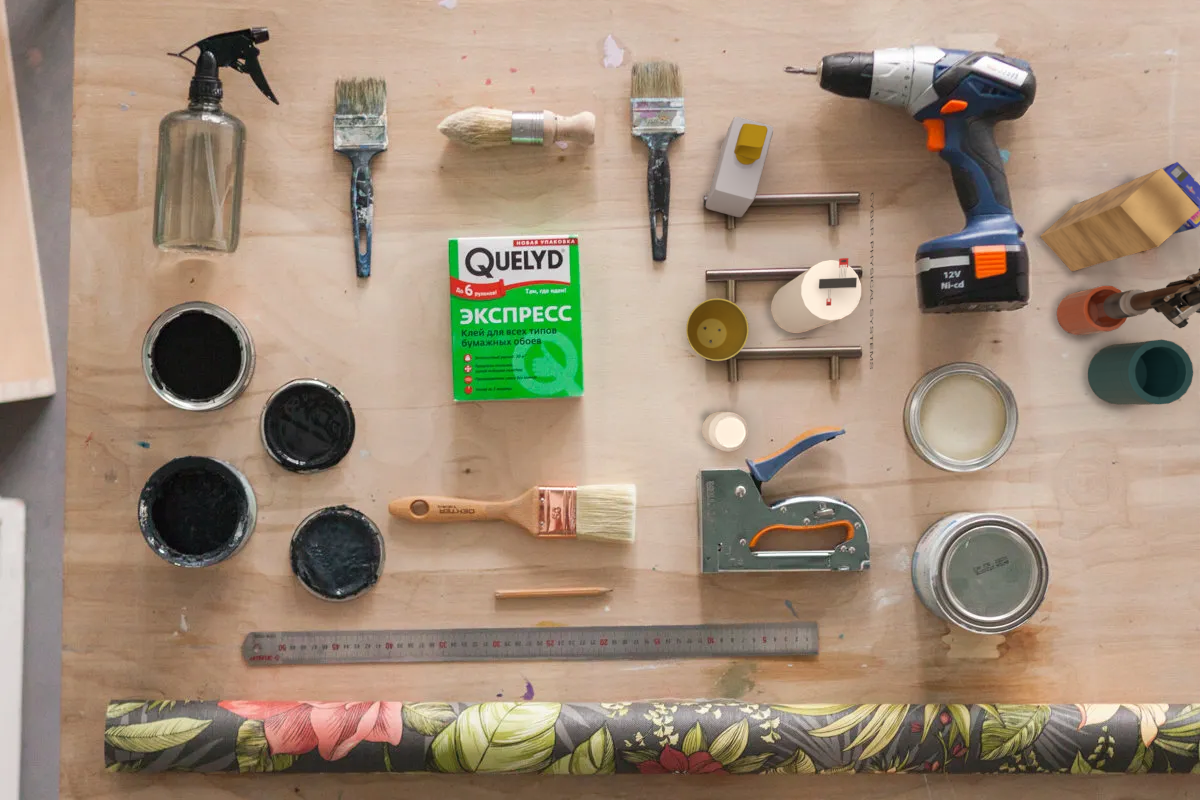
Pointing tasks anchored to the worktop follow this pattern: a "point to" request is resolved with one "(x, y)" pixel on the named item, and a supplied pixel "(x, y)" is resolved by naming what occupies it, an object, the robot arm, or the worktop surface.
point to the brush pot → (1087, 312)
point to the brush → (1134, 301)
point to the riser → (1120, 221)
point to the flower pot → (714, 318)
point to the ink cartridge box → (1186, 192)
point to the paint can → (818, 296)
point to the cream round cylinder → (725, 431)
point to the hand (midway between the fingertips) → (1163, 297)
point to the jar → (1141, 373)
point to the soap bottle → (739, 167)
